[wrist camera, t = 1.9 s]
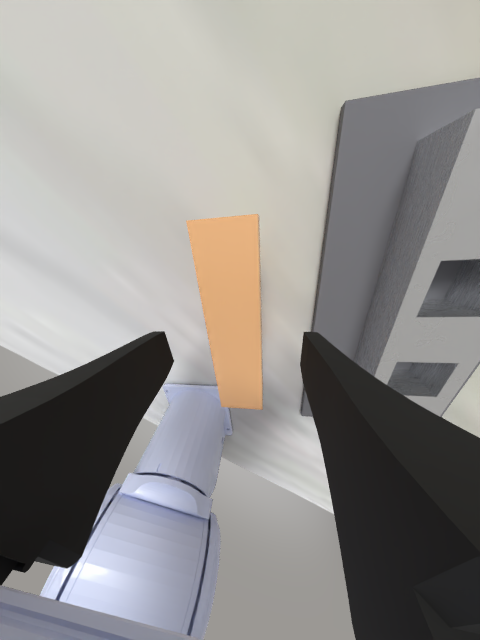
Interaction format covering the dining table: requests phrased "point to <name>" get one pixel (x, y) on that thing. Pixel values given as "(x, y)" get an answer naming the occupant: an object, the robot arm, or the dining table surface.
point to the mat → (376, 203)
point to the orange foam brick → (231, 303)
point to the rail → (430, 273)
